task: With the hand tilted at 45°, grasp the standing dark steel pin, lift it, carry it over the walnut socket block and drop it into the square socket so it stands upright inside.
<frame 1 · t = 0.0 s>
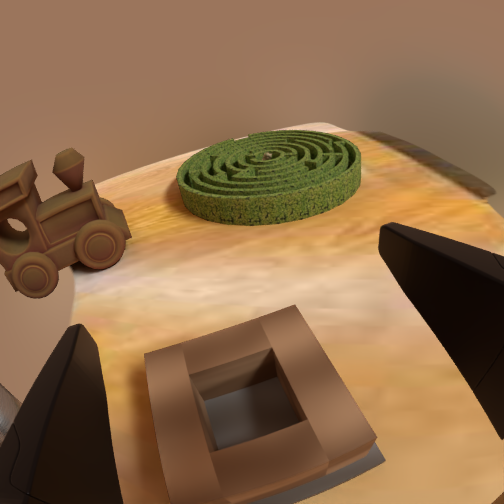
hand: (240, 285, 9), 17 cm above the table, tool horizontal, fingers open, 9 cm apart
steel pin: (73, 468, 18), on the table
wooden toy train: (74, 267, 42), on the table
socket block: (253, 423, 21), on the table
maze: (270, 180, 55), on the table
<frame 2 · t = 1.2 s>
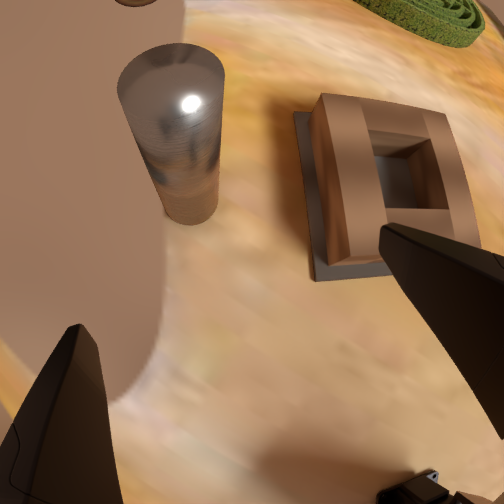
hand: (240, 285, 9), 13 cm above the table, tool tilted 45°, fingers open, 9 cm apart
steel pin: (190, 198, 23), on the table
socket block: (383, 190, 25), on the table
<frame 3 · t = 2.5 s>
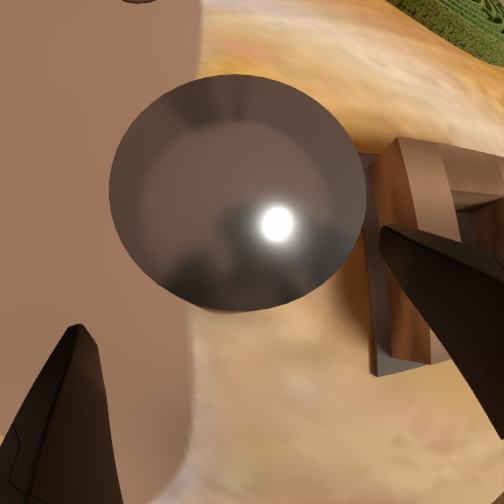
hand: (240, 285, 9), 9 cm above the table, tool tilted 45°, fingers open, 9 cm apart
steel pin: (222, 277, 17), on the table
socket block: (450, 254, 19), on the table
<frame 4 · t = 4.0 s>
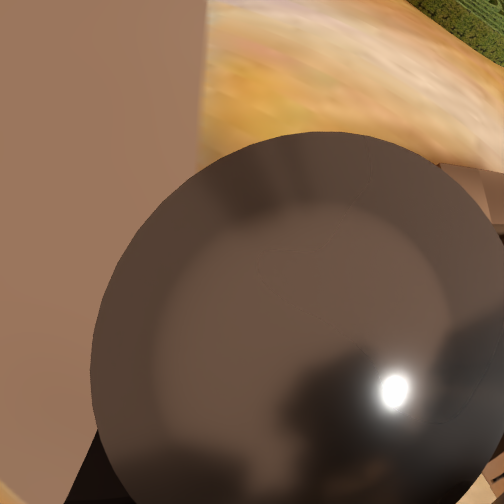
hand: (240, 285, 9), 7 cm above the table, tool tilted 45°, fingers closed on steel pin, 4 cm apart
steel pin: (238, 326, 15), on the table, touching gripper
socket block: (479, 286, 17), on the table
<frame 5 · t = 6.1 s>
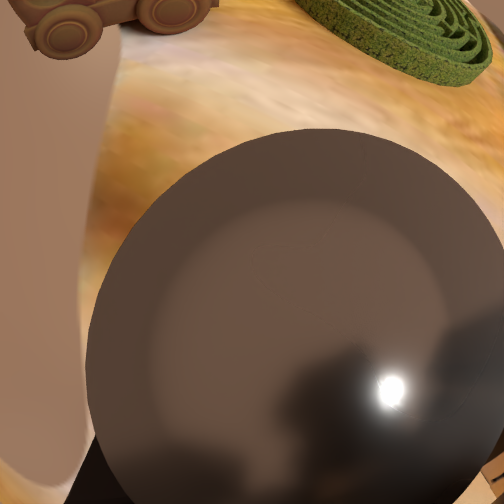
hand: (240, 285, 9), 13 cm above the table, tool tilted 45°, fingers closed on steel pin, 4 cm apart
steel pin: (238, 325, 15), point 7 cm above the table, touching gripper
wooden toy train: (122, 21, 26), on the table
maze: (388, 7, 32), on the table
when the fingers open (8 cm above the table, at t = 8.2 s): steel pin drops 1 cm, resting on socket block.
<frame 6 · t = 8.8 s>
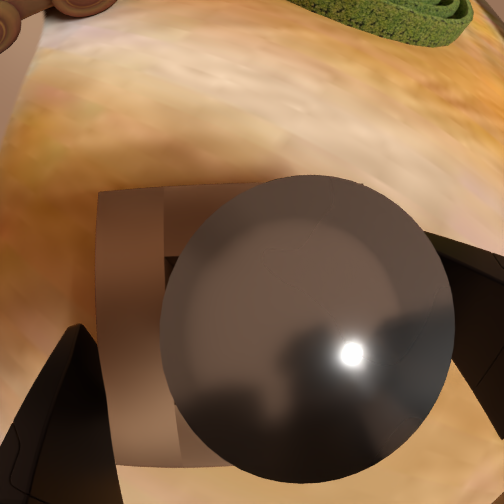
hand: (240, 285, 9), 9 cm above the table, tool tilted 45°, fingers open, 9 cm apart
steel pin: (236, 326, 16), resting on socket block
wooden toy train: (49, 11, 20), on the table
socket block: (236, 324, 17), on the table
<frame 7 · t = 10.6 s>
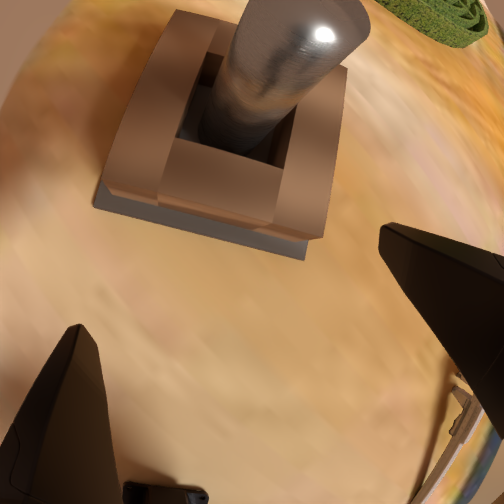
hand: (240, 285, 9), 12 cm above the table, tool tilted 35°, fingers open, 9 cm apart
steel pin: (228, 132, 20), resting on socket block
socket block: (227, 134, 21), on the table
caliper: (431, 452, 26), on the table
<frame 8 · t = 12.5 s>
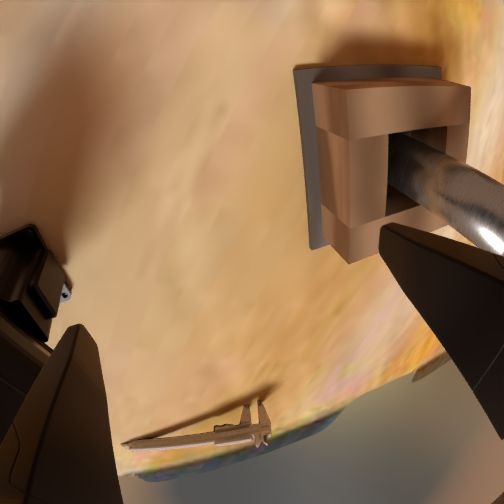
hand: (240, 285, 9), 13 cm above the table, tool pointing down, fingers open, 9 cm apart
steel pin: (383, 152, 23), resting on socket block
socket block: (381, 150, 23), on the table
caliper: (187, 424, 37), on the table
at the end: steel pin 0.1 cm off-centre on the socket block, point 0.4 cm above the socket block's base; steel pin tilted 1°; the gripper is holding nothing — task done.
